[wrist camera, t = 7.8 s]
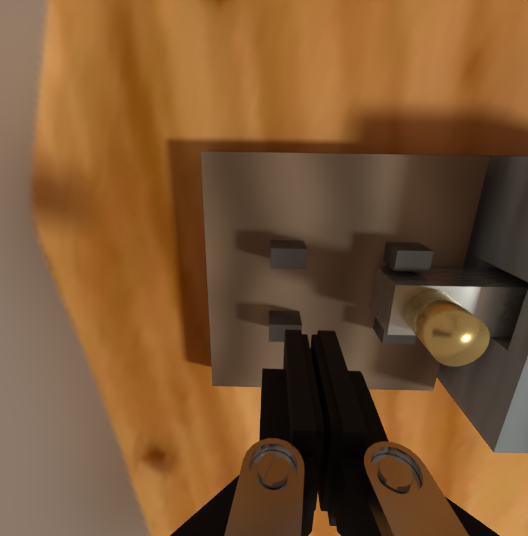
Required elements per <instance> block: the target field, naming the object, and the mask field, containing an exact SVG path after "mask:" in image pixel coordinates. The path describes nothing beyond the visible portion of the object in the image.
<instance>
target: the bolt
mask: <svg viewBox="0 0 528 536" xmlns="http://www.w3.org/2000/svg"><path fill="white" fill-rule="evenodd" d="M527 290H528V282H526V281H524V280H522V279H520V278H518V277H516V276H514V275H512V274H510V273H508V272H506V271H504V270H502V269H496V268H440V267H431V268H430V272H426V271H394V270H393V269H392V268H390V267H384V266H377V271H376V278H375V285H374V292H373V299H372V305H371V311H372V312H373V314H374V315H375V317H376V318H377V320H378V322H379V323H380V325H381V326H382V328H383V329H384V331H385V332H386V334H387V335H416V336H417V337H418V338H419V340H420V341H421V342H422V343H423V344H424V346H425V347H426V348H427V349H428V351H429V352H430V353H431V354H432V355H433V357H434V358H435V359H436V360H437V361H438V362H440V363H441V364H443V365H447V366H463V365H466V364H469V363H471V362H473V361H475V360H476V359H478V358H479V357H480V356H481V355H482V354H483V353H484V352H485V350H486V348H487V347H488V344H489V340H490V337H512V336H513V333H514V330H515V327H516V324H517V321H518V317H519V314H520V311H521V308H522V305H523V302H524V299H525V296H526V293H527Z"/></svg>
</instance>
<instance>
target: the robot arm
mask: <svg viewBox="0 0 528 536" xmlns="http://www.w3.org/2000/svg"><path fill="white" fill-rule="evenodd" d="M317 493H318V495H319V503H320V509H321V511H328V517H329V524H330V526H337V532H338V533H339V534H340V535H341V536H499V535H498V534H497V533H495V532H494V531H492V530H491V529H490V528H488V527H487V526H485V525H484V524H483V523H481V522H480V521H478V520H477V519H476V518H474V517H473V516H471V515H470V514H469V513H467V512H466V511H464V510H463V509H462V508H460V507H459V506H457V505H456V504H455V503H453V502H452V501H450V500H449V499H448V498H446V497H445V496H444V495H443V493H442V491H441V490H440V488H439V487H438V485H437V483H436V482H435V480H434V479H433V477H432V475H431V474H430V472H429V471H428V469H427V467H426V466H425V465H424V463H423V462H422V461H421V459H420V458H419V457H418V456H417V455H416V454H414V453H413V452H412V451H411V450H410V449H408V448H406V447H404V446H402V445H400V444H397V443H393V442H389V441H388V439H387V436H386V434H385V431H384V428H383V426H382V423H381V421H380V418H379V415H378V413H377V410H376V408H375V405H374V402H373V400H372V397H371V395H370V392H369V390H368V387H367V384H366V382H365V379H364V377H363V374H362V372H360V371H348V369H347V366H346V363H345V360H344V357H343V354H342V351H341V348H340V345H339V342H338V339H337V336H336V333H335V331H328V330H318V332H317V335H316V334H312V336H311V347H310V345H309V340H308V335H307V334H302V332H301V330H285V338H284V360H283V369H267V368H262V390H261V415H260V441H258V442H257V443H255V444H253V445H252V446H251V447H250V449H249V450H248V451H247V452H246V455H245V457H244V459H243V463H242V467H241V471H240V475H239V476H238V477H236V478H235V479H234V480H233V481H232V482H231V483H230V484H228V485H227V486H226V487H225V488H224V489H223V490H222V491H220V492H219V493H218V494H217V495H216V496H215V497H214V498H213V499H211V500H210V501H209V502H208V503H207V504H206V505H205V506H203V507H202V508H201V509H200V510H199V511H198V512H197V513H195V514H194V515H193V516H192V517H191V518H190V519H189V520H187V521H186V522H185V523H184V524H183V525H182V526H181V527H179V528H178V529H177V530H176V531H175V532H174V533H173V534H171V535H170V536H308V535H309V534H310V533H311V531H312V525H313V516H314V511H315V509H316V502H317Z"/></svg>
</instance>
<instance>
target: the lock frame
mask: <svg viewBox="0 0 528 536" xmlns="http://www.w3.org/2000/svg"><path fill="white" fill-rule="evenodd" d="M201 169H202V189H203V209H204V229H205V248H206V268H207V288H208V308H209V328H210V347H211V367H212V386H238V387H262V368H267V369H283V360H284V338H285V330H301V332H302V334H307V335H308V340H309V345H310V347H311V336H312V334H316V335H317V332H318V330H328V331H335V333H336V336H337V339H338V342H339V345H340V348H341V351H342V354H343V357H344V360H345V363H346V366H347V369H348V371H360V372H362V374H363V377H364V379H365V382H366V384H367V387H368V389H382V390H430V391H433V390H434V385H435V381H436V377H437V378H438V379H439V381H440V382H441V383H442V385H443V386H444V387H445V389H446V390H447V391H448V393H449V394H450V395H451V397H452V398H453V399H454V401H455V402H456V403H457V405H458V406H459V407H460V408H461V410H462V411H463V412H464V414H465V415H466V416H467V418H468V419H469V420H470V422H471V423H472V424H473V426H474V427H475V428H476V430H477V431H478V432H479V434H480V435H481V436H482V438H483V439H484V440H485V441H486V443H487V444H488V445H489V447H490V448H491V449H492V451H493V452H501V453H528V290H527V293H526V296H525V299H524V302H523V305H522V308H521V311H520V314H519V317H518V321H517V324H516V327H515V330H514V333H513V336H512V337H490V340H489V344H488V347H487V348H486V350H485V352H484V353H483V354H482V355H481V356H480V357H479V358H478V359H476V360H475V361H473V362H471V363H469V364H466V365H463V366H447V365H443V364H441V363H440V362H438V361H437V360H436V359H435V358H434V357H433V355H432V354H431V353H430V352H429V351H428V349H427V348H426V347H425V346H424V344H423V343H422V342H421V341H420V340H419V338H418V337H417V336H416V335H387V334H386V332H385V331H384V329H383V328H382V326H381V325H380V323H379V322H378V320H377V318H376V317H375V315H374V314H373V312H372V311H371V305H372V299H373V292H374V285H375V278H376V271H377V266H384V267H390V268H392V269H393V270H394V271H426V272H430V268H431V267H440V268H496V269H502V270H504V271H506V272H508V273H510V274H512V275H514V276H516V277H518V278H520V279H522V280H524V281H526V282H528V156H469V155H402V154H336V153H270V152H203V151H201Z"/></svg>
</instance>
